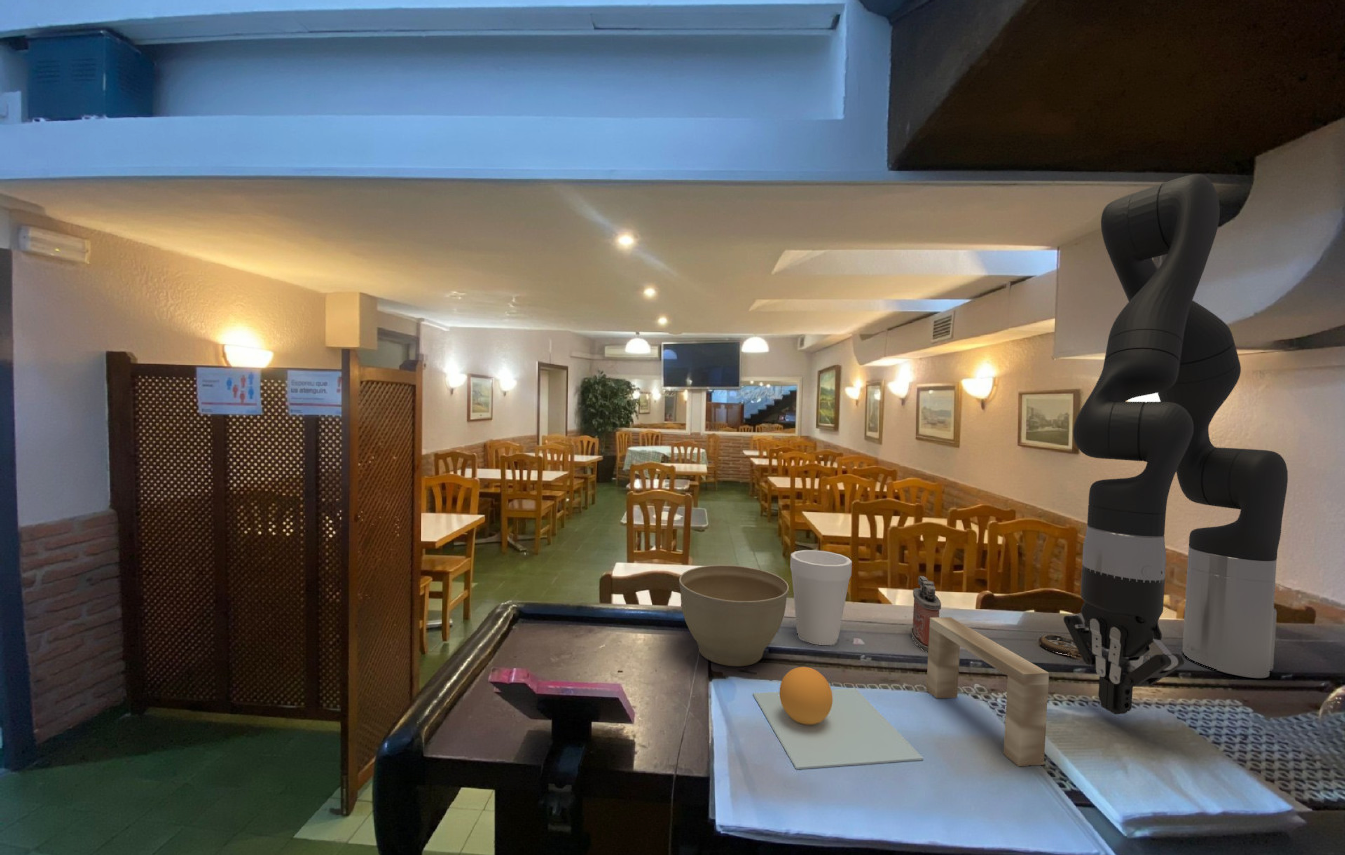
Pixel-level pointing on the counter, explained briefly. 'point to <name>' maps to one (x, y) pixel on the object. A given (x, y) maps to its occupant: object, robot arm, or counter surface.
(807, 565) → the foam cup
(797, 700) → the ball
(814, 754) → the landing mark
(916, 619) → the lighter
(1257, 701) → the counter surface
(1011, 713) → the bridge
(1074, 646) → the compass
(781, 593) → the planter bowl
